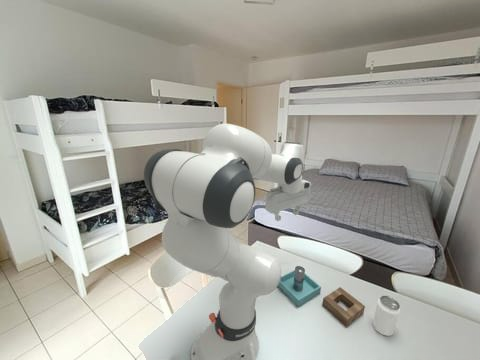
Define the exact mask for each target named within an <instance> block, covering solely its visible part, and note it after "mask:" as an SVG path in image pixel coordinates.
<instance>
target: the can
mask: <svg viewBox="0 0 480 360" xmlns="http://www.w3.org/2000/svg"><path fill="white" fill-rule="evenodd" d="M400 313H401V309H400V303H399V302H398V301H397V300H396V299H395V298H394V297H391V296H390V295H389V296H388V295H382V296H381V297H380V298H379V299H378V300H377V302H376V306H375V310H374V314H373V319H372V321H371V323H372V326H373V328H374V330H375V331H376V332H378V333H379V334H381V335H383V336H386V337H387V336H388V337H389V336H392V335H393V334H394V331H395V329H396V326H397V323H398V319H399V317H400Z"/></svg>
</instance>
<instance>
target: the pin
mask: <svg viewBox="0 0 480 360" xmlns="http://www.w3.org/2000/svg"><path fill="white" fill-rule="evenodd" d="M294 270H295V275H294V284H293V289H294V290H295V291H297V292H301V291H302V290H303V282H304V274H306V273H305V272H306V270H305V268H304V267H303V266H300V265H298V266H295V269H294Z"/></svg>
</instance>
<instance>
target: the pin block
mask: <svg viewBox="0 0 480 360" xmlns="http://www.w3.org/2000/svg"><path fill="white" fill-rule="evenodd" d="M340 302H341V304H343V305H344V306H346V307H347V308H348V309H346V310H345V309H344V308H343V307H342V306H341V305H340V304H339V303H340ZM321 306H322V307H323V308H324V309H325V310H327V312H329V313H330V315H332V316H333V317H334V318H335V320H337V321H338V322H339V323H340V324H342V326H344V327H345V328H347V327H349V326H350V325H351V324H353V323H354V322H355V321H357V319H359V318H360V317H361V316H363V315H364V312H365V308H366V306H365V305H364V304H363V303H362V302H360V301H359V300H358V299H356V298H355V297H354V296H352V295H351V294H350V293H349V292H347V291H346V290H345V289H343V288H342V287H341V286H340V287H338V288H336V289H335V290H334V291H332V292H330V293H329V294H327V295H325V296H324V297H323V298H322V304H321Z"/></svg>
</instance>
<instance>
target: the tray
mask: <svg viewBox="0 0 480 360" xmlns="http://www.w3.org/2000/svg"><path fill="white" fill-rule="evenodd" d="M294 275H295V269H293V270H291V271H290V272H288V273H286V274H284V275H281V279H280V282H279V284H278V286H277V287H276V288H278V289H279V290H280V291H281V293H283V294H284V295H285V297H287V298H288V299H289V300H290V302H291V303H292V304H293V305H294V306H295V307H296V308H297V309H298V308H300V307H302V306H304V305H305V304H307V303H309V302H310V301H311V300H313V299H315V298H316V297H318V296H320V295H321V291H322V286H321V285H319V283H317V281H315V280H314V279H313V278H311V277H310V276H309V275H308V274H306V273H305V274H304V282H303V290H302V291H301V292H297V291H295V290H294V289H293V284H294Z"/></svg>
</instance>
